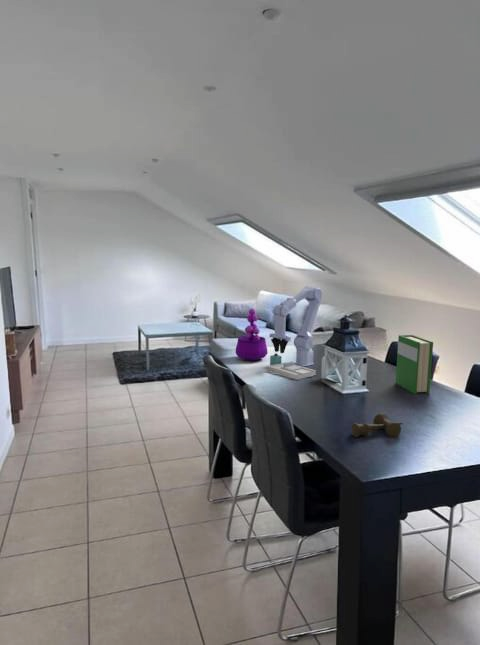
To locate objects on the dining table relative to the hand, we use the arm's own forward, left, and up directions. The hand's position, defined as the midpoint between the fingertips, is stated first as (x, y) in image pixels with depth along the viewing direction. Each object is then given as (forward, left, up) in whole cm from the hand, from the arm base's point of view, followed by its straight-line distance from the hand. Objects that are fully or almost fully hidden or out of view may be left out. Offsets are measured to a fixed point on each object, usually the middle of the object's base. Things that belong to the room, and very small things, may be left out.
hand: (279, 352), depth 258 cm
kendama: (+33, +87, -10) cm, 94 cm away
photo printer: (-6, +31, -10) cm, 33 cm away
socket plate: (0, +9, -9) cm, 13 cm away
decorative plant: (-3, -27, -10) cm, 29 cm away
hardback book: (-27, +63, -10) cm, 69 cm away
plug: (-3, -6, -10) cm, 12 cm away
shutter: (0, +10, -7) cm, 12 cm away
